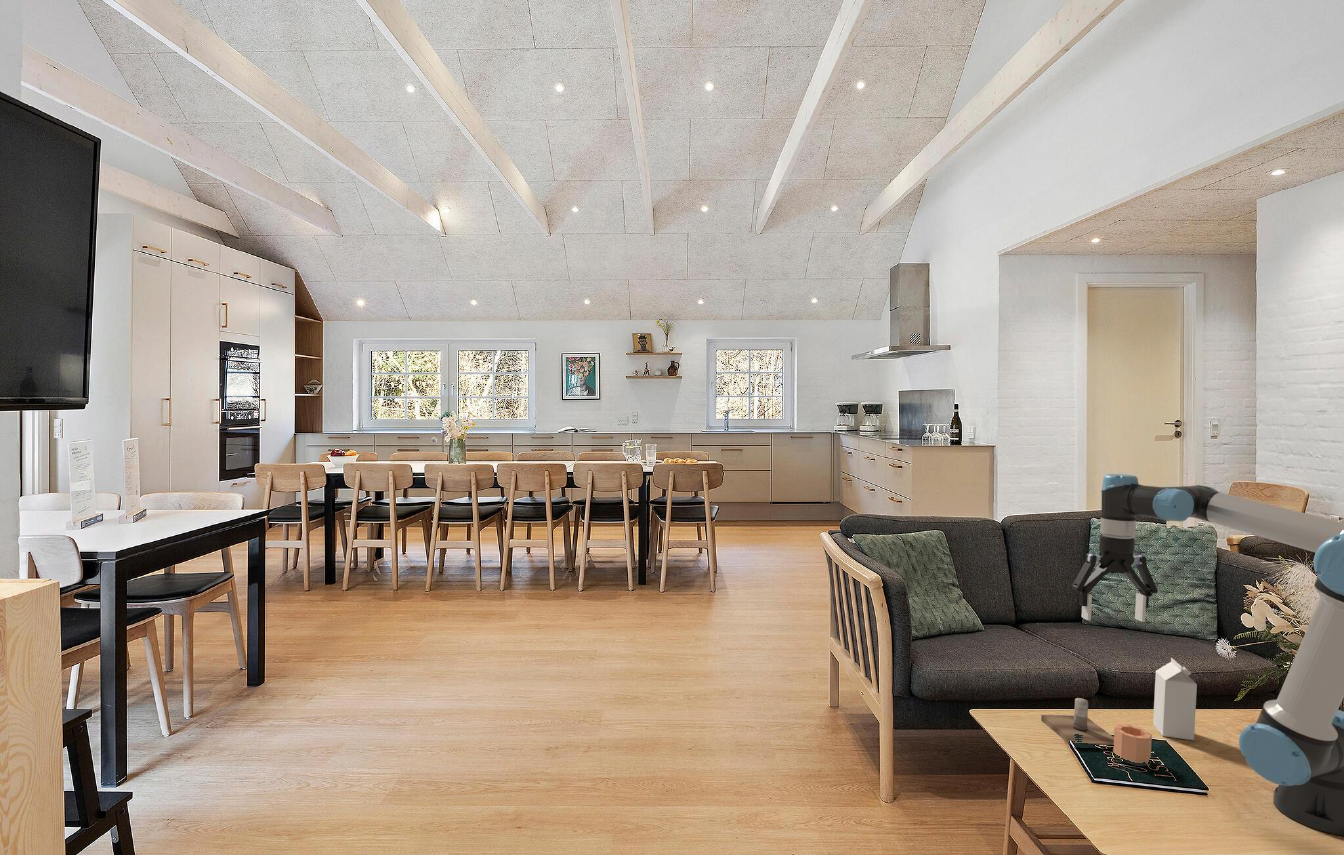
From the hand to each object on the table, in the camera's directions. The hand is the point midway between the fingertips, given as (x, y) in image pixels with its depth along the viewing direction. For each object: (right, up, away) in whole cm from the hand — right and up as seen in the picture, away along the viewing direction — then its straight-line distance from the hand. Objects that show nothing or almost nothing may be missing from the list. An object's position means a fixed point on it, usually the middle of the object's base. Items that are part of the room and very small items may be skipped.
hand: (1112, 619), depth 179 cm
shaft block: (-4, -32, +7) cm, 33 cm away
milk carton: (+22, -33, +10) cm, 41 cm away
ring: (+1, -33, -6) cm, 33 cm away
